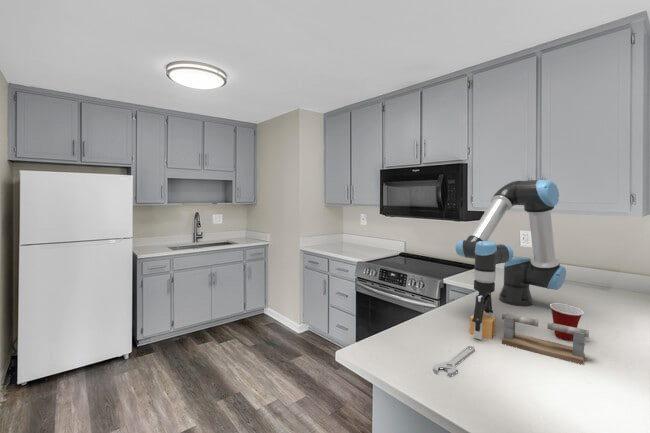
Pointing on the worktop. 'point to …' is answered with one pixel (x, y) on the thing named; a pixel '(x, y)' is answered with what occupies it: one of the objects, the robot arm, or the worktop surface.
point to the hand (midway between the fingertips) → (482, 333)
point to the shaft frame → (544, 346)
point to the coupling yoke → (485, 326)
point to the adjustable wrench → (454, 361)
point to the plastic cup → (565, 318)
